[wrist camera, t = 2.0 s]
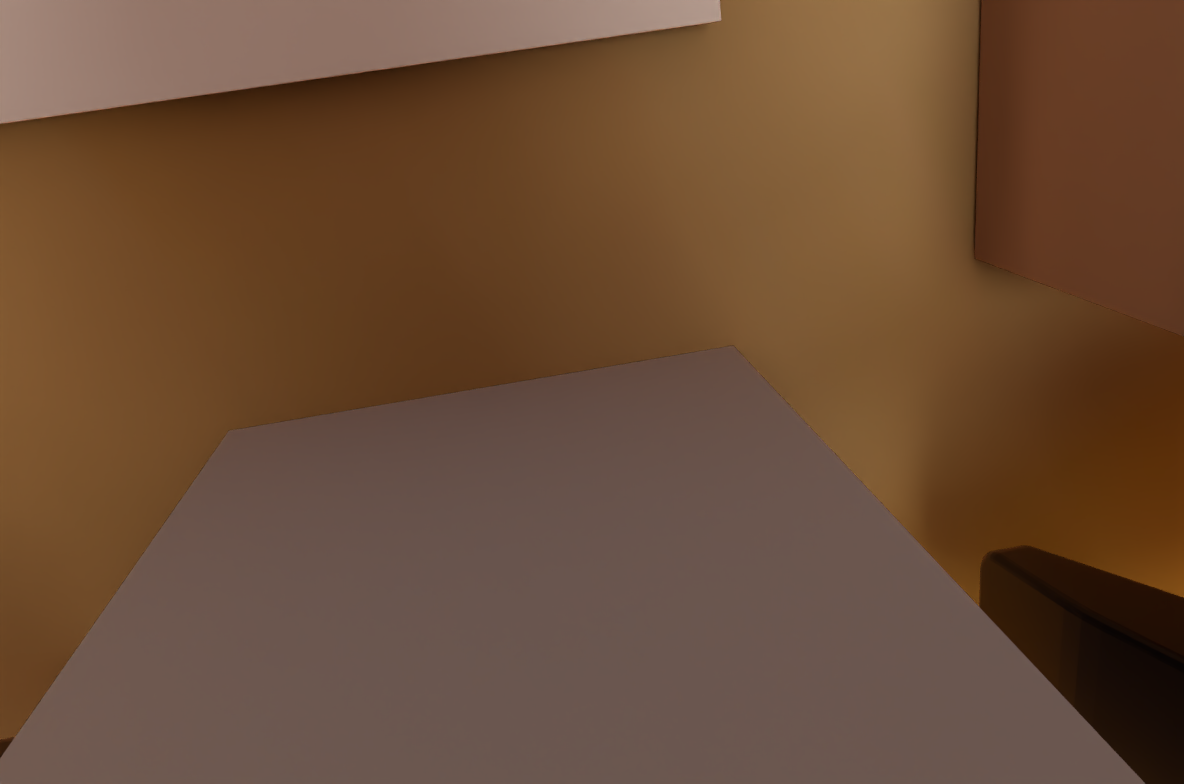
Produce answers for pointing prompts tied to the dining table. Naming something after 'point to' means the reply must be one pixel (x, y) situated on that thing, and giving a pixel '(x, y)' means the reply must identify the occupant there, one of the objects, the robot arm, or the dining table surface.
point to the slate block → (548, 609)
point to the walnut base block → (1085, 150)
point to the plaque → (275, 42)
